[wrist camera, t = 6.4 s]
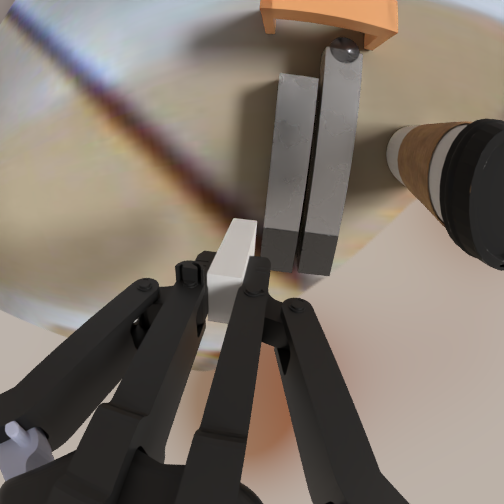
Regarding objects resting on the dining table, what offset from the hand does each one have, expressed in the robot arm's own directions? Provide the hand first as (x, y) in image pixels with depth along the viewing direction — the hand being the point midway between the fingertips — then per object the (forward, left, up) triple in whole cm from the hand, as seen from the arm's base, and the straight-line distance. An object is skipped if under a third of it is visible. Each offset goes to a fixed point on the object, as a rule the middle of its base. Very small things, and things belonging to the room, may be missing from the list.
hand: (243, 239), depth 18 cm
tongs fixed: (-5, +6, -9) cm, 12 cm away
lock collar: (-17, +4, -9) cm, 20 cm away
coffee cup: (-7, +14, -9) cm, 19 cm away
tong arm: (-3, +3, -9) cm, 10 cm away
